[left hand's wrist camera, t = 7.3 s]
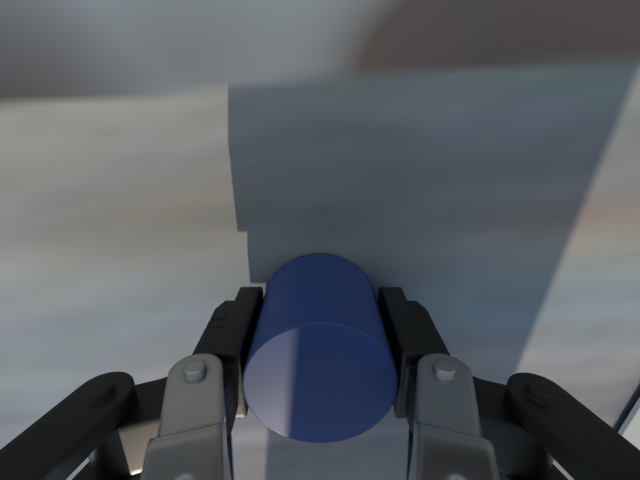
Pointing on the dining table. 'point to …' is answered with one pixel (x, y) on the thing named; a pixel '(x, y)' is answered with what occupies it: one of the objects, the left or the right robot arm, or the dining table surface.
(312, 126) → the dining table surface
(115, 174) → the dining table surface
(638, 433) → the invitation card
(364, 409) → the can
